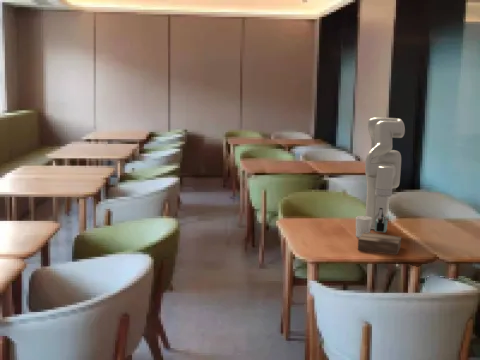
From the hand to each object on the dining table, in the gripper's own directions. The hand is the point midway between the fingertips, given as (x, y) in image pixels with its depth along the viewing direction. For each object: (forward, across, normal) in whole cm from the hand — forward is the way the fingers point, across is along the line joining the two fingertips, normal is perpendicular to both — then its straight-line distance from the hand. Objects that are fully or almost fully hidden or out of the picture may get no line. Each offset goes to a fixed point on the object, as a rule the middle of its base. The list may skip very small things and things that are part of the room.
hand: (380, 229), depth 273 cm
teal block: (+1, 0, 0) cm, 1 cm away
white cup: (+9, -17, -11) cm, 23 cm away
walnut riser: (+9, 0, 0) cm, 9 cm away
